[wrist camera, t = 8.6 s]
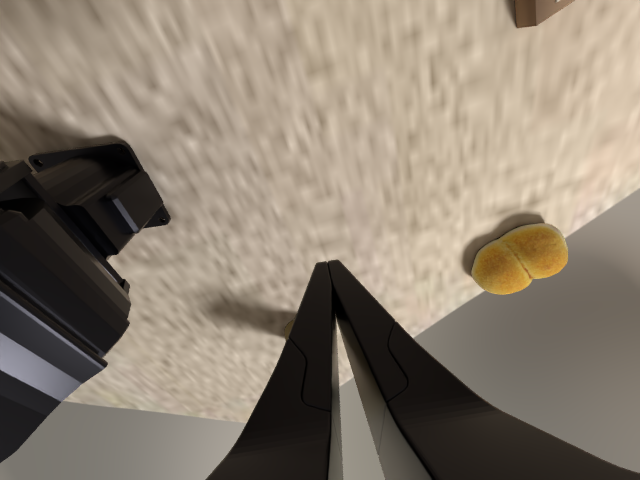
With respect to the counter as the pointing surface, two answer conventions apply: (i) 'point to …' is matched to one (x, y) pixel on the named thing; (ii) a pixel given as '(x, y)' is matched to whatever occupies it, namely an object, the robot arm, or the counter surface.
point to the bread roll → (520, 258)
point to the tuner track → (537, 11)
